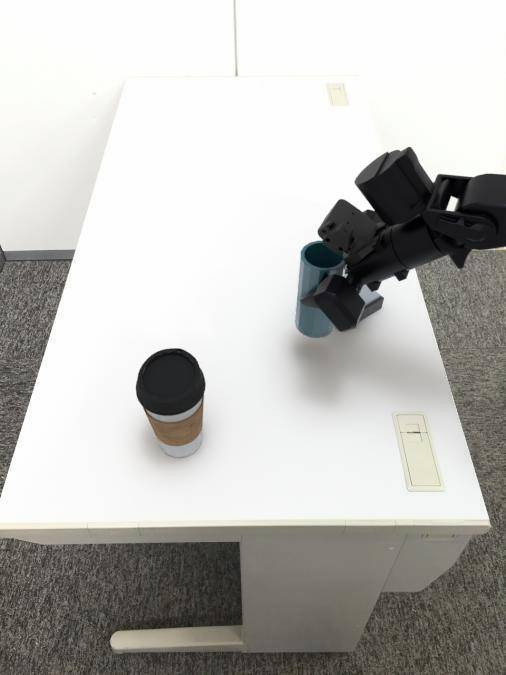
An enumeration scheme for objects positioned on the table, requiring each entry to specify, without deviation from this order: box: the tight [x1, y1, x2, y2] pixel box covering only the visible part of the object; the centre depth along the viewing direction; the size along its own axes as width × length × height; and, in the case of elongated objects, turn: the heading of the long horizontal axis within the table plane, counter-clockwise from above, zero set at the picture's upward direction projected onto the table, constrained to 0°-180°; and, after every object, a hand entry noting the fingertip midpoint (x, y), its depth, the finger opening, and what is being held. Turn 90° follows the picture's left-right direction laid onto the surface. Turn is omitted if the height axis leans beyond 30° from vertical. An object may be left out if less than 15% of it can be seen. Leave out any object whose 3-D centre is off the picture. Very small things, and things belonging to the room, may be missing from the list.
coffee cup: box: [135, 347, 207, 459], centre depth 68 cm, size 8×8×15 cm
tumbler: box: [294, 240, 347, 339], centre depth 74 cm, size 6×6×13 cm
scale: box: [344, 274, 385, 322], centre depth 90 cm, size 9×9×3 cm
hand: (310, 287), depth 74 cm, fingers closed on tumbler, 6 cm apart
